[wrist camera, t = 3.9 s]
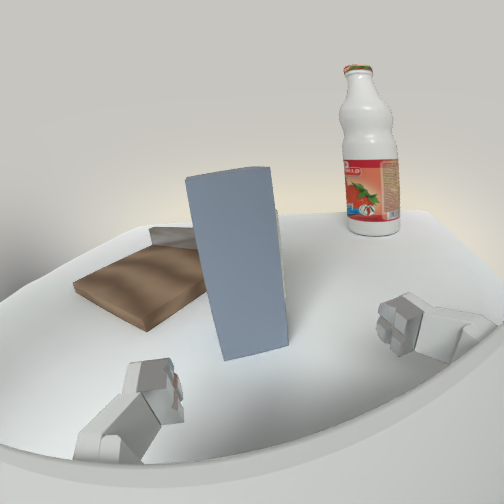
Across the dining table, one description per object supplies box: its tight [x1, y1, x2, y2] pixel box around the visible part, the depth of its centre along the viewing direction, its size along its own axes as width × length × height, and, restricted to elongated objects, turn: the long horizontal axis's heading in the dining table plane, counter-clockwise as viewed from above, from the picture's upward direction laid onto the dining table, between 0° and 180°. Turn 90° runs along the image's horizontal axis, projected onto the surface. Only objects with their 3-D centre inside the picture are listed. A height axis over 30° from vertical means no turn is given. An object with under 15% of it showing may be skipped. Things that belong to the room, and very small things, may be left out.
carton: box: [185, 167, 288, 361], centre depth 20 cm, size 5×5×13 cm
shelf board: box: [73, 227, 207, 332], centre depth 35 cm, size 18×20×4 cm
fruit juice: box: [339, 64, 400, 236], centre depth 39 cm, size 9×9×28 cm
